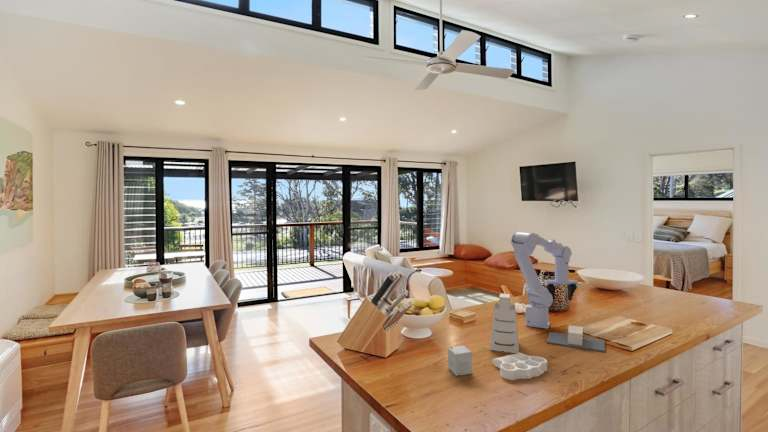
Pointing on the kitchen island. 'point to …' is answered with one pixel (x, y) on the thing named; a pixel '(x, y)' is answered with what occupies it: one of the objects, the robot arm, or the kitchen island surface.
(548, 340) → the mat
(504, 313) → the grater
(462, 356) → the skincare box
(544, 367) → the white scalloped muffin tray
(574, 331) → the block
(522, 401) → the kitchen island surface
